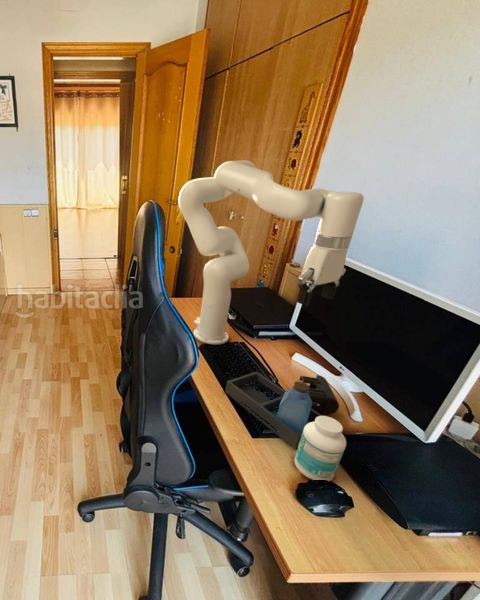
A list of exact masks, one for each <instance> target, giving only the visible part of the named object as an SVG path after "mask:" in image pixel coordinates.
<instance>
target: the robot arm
mask: <svg viewBox="0 0 480 600" xmlns="http://www.w3.org/2000/svg"><path fill="white" fill-rule="evenodd" d="M257 167H258V166H256V163H254V162H252V161H250V160H248V159H246V160H245V159H241V160H229V161H225V162H223V163H222V164H221V165H219V166H218V167H217V169H216V170H215V173H214V176H213V177H211V176H210V177H200V178H195V179H191V180H189V181H187V182H186V183H185V184H184V185H183V186H182V188H181V189H180V191H179V196H178V207H179V211H180V213H181V214H182V216H183V218H184V220H185V222H186V224H187V226H188V229H189V231H190V235H191V236H192V239H193V241H194V243H195V246H196V248H197V251H198V252H199V254H200V255H201V256H204V257H212V256H217V255H219V257H216V258H213V259H211V260H209V261H208V262H207V263H206V264H205V266H204V268H203V271H202V275H203V290H202V302H201V308H200V315H199V316H197V317H196V319H195V320H193V324H194V325H196V328H195V329H194V331H193V336H194V338H195V339H196V340H198V341H199V342H201V343H203V344H208V345H215V346H216V345H217V346H219V345H223V344H226V343H227V342H228V341H229V338H230V337H229V334H228V333H227V332H226V328H227V324H228V323H227V322H228V317H229V312H230V305H231V299H232V289H231V286H230V285H231V283H232V282H234V281H237V280H240V279H242V278H244V277H245V276H246V275H247V274H248V273H249V270H250V261H249V257H248V256H247V253H246V251H245V248H244V246H243V244H242V241H241V239H240V237H239V235H238V234H237V232H236V231H235V230H234V229H233V228H231V227H230V226H217V224H216V223H215V220H214V218H213V216H212V213H210V211H209V210H208V209H207V208H206V207H205V206H204V204H207V203H214V202H219V201H222V200H224V199H226V198H228V197H230V196H233V195H234V194H236V195H238V196H241V197H244V198H246V199H249V200H250V201H252V202H254V203H255V204H256V205H257V206H258V207H259V208H260V209H262V210H263V211H265V212H267V213H270V214H271V215H274V216H277V217H279V218H281V219H284V220H288V221H292V222H299V221H303V220H308V219H313V218H319V222H318V227H317V230H316V233H315V238H314V241H313V245H312V246H311V248H310V250H309V252H308V254H307V256H306V259H305V262H304V264H303V267H302V270H301V274H300V275H299V276H298V278H297V282H298V284H297V286H298V291H299V292H298V295H297V299H296V302H297V303H298V304H300V305H302V306H305V307H308V306H310V303H311V299H312V296H313V292H312V291H313V290H314V288H315V287H316V286H321V285H323V287H322V290H321V293H320V297H322V298H325V299H327V300H334V298H335V295H336V292H337V288H338V287H339V286H340V281H341V280H342V279H343V277H344V274H345V273H346V271H347V268H345V263H346V260H347V255H348V250H349V248H350V245H351V241H352V239H353V234H354V232H355V228H356V225H357V222H358V219H359V216H360V213H361V209H362V207H363V203H364V195H363V194H362V193H361V192H356V191H334V190H330V189H324V188H309V189H303V190H302V189H301V190H297V189H293V188H290V187H287V186H285V185H282V184H279V183H277V182H275V181H274V176H273V173H271V172H269V171H266V170H263V169H261V168H257ZM308 284H309V286H308Z"/></svg>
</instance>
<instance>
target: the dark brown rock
mask: <svg viewBox="0 0 480 600" xmlns="http://www.w3.org/2000/svg"><path fill="white" fill-rule="evenodd" d="M299 382H303V383H306V384H307V385H308V386H309V389H308V391H309V393H308V395H309V396H310V398H311V400H312V406H311V408H312V409H313V410H315V411H316V412H318V413H319V414H321V415H322V416H330V415H334V414H335V413H337V412H338V411H339V409H340V403H339V401H338V399H337V397H336V395H335V394H334V392H333V390H332V388H331V386H330V384H329V382H328V380H327V379H326V378H325V377H324V376H322V375H320V374H316V376H315V377H312V376H307V375H306V376H305V375H299Z"/></svg>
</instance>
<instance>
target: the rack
mask: <svg viewBox="0 0 480 600" xmlns="http://www.w3.org/2000/svg"><path fill="white" fill-rule="evenodd" d="M255 379H256V380H258V381H259V382H261V383H262V384H263V385H265V386H266V387H268V388H270V389H271V390H273V391H274V392H276V393H277V394H279V395H280V396H281V397H278V398H275V399H273V400H270V398H268V397H267V396H266V394H264V393H263V392H260V390H259V391H256V389H257V388H256V389H255V388H252V386H251V385H245V386H242V387H239V388H238V386H241V385H243V384H245V383H248V382H250V381H253V380H255ZM286 391H287V390H285V389H284V388H282V387H281V386H279V385H278V384H276V383H274V382H273V381H272V380H270V379H268V378H267V377H266V376H264V375H263V374H261V373H260V372H258V371H255V372H250V373H248V374H246V375H242V376H240V377H239V376H238V377H236V378H232V379H229V380H227V381H226V385H225V392H224V393H225V394H227V395H228V396H229V397H230V398H231V399H233V400H234V401H235V402H236V403H237V404H239V405H240V406H241V407H242V408H244V409H245V410H246V411H247V412H249V413H250V414H251V415H252V416H253V417H255V419H257V420H258V421H259V422H261V424H263V425H264V426H266V428H268V429H269V430H270V431H272V432H273V434H275V435H276V436H278V437H279V438H280V439H281V440H283V441H284V443H286V444H287V445H289V446H290V447H291V448H292V449H293V450H297V449H298V446H299V442H300V439H301V436H302V433H303V431H302V432H300V433H297V432H296V431H294V430H293V429H292V428H290V427H289V426H288V425H286V424H285V423H284V422H282V421H281V420H280V419H279V418H277V417H276V416H277V412H276V411H275V410H272V411H268V410H270V409H273V408H275V407H278V406H279V405H280V403H281V400H282V398H283V395H284V393H285V392H286ZM241 402H242V403H241ZM244 404H245V405H246V406H247V407H246V406H245V405H244ZM248 407H249V408H250V409H251V410H252V411H254V412H255V413H256V414H257V415H259V416H260V417H261V418H263V419H264V420H266V421H267V422H268V423H270V424H271V425H272V426H273V427H274V428H275V429H276V430H277V431H279V433H278V432H277V431H276V430H275V429H274V428H272V427H271V426H270V425H269V424H267V423H266V422H265V421H264V420H262V419H261V418H260V417H259V416H257V415H256V414H255V413H254V412H252V411H251V410H250V409H249V408H248ZM276 410H277V409H276ZM318 416H322V415H321V414H319V413H318V412H316V411H315V410H313V409H312V408H311V410H310V413H309V417H308V420H307V423H306V425H307V424H308V423H310V422H315V419H316V417H318Z"/></svg>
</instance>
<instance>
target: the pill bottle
mask: <svg viewBox="0 0 480 600" xmlns="http://www.w3.org/2000/svg"><path fill="white" fill-rule="evenodd" d="M343 430H344V428H343V425H342V424H341V422H339V420H336V419H335V418H333V417H331V416H328V415H324V416H318V417H316V419H315V422H310V423H308V424H307V425H306V426H305V427H304V430H303V433H302V436H301V439H300V442H299V446H298V448H296V453H295V455H294V459H293V460H294V464H295V467H296V469H297V470H298V471H299V472H300V473H301V474H302V475H303V476H305V477H306V478H308V479H310V480H312V481H314V480H327V481H328V482H330V481H332V480H333V478H335V475H336V473H337V470H338V467H339V464H340V462H341V459H342V457H343V454H344V452H345V450H346V447H347V439H346V437H345V436H344V434H343Z"/></svg>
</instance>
